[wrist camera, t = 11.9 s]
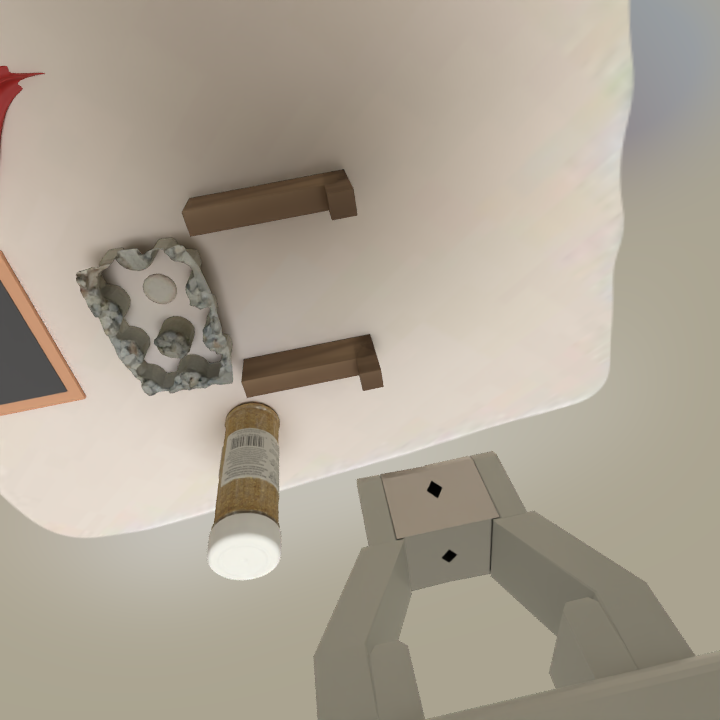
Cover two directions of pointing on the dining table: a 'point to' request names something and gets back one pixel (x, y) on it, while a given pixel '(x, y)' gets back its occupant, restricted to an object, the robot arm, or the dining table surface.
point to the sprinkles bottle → (247, 496)
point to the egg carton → (174, 331)
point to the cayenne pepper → (9, 89)
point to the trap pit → (29, 354)
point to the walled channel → (275, 205)
